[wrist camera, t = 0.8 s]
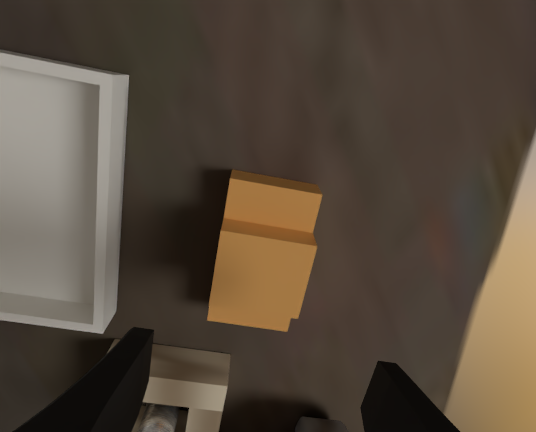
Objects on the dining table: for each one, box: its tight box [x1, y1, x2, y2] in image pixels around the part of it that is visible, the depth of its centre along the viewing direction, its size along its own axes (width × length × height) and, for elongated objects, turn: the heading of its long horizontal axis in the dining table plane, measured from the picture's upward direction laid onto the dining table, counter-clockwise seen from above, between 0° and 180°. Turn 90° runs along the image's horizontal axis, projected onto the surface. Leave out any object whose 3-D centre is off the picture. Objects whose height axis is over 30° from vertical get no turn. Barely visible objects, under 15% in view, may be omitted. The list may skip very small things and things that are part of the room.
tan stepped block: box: [207, 169, 322, 332], centre depth 19 cm, size 8×4×4 cm, turn 169°
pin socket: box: [107, 339, 231, 432], centre depth 22 cm, size 7×7×2 cm
